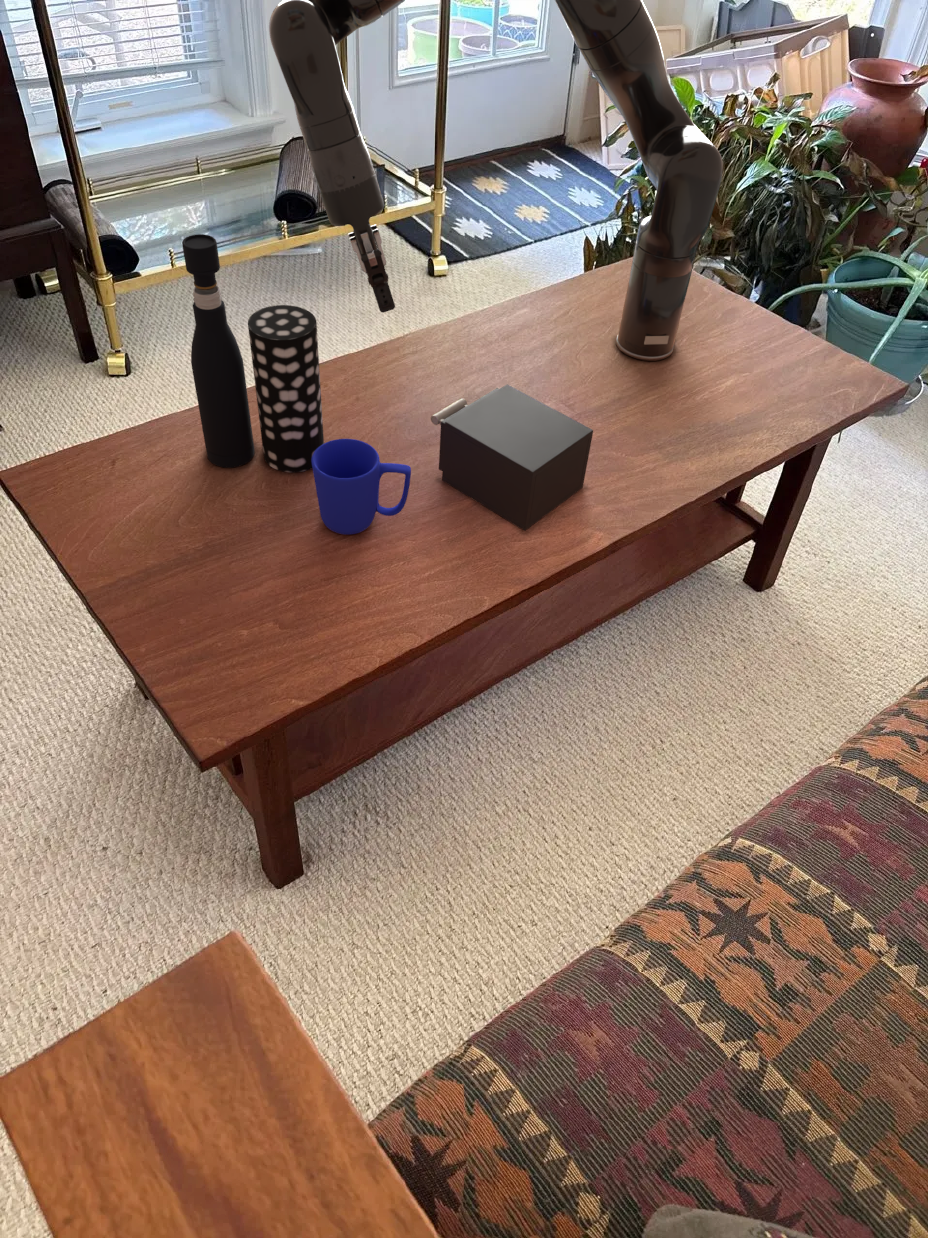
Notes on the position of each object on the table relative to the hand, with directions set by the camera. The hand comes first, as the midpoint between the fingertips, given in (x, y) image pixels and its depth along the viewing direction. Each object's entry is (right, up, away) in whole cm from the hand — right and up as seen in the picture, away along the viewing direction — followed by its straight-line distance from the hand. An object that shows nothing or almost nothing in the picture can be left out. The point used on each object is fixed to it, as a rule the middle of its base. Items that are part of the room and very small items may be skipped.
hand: (387, 309), depth 131 cm
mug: (-2, -30, -9) cm, 32 cm away
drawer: (+14, -22, -1) cm, 26 cm away
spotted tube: (-13, -20, 0) cm, 24 cm away
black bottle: (-21, -20, 0) cm, 30 cm away
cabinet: (+17, -24, -2) cm, 30 cm away
